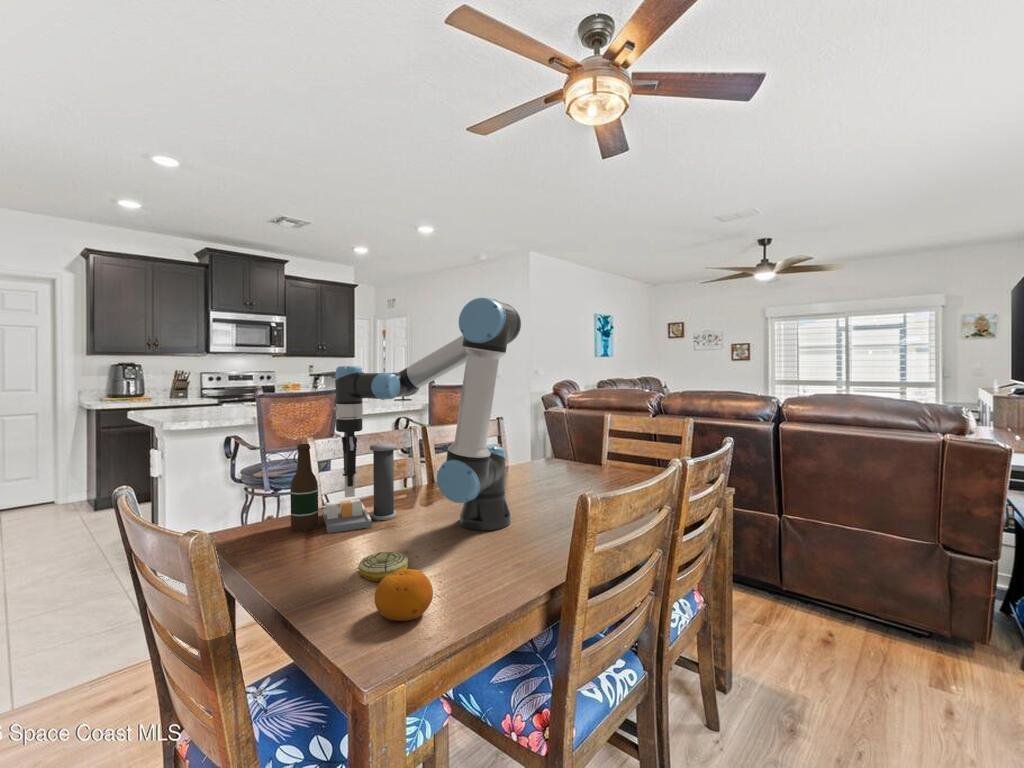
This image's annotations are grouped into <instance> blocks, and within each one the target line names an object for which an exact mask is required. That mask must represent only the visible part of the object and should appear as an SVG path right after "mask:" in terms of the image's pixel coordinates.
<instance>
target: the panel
mask: <svg viewBox="0 0 1024 768" xmlns="http://www.w3.org/2000/svg"><path fill="white" fill-rule="evenodd" d="M322 517H323V521H324V524H325V530H326V529H327V530H326V533H328V534H334V533H333V532H335V533H341V532H342V531H343V532H349V530H350V531H356V530H355V529H358V530H363V529H362V528H365V529H371V527H372V528H373V520H372V519H371V518H370V514H369V513H368V510H367V508H366V506H365V505H364V504H363V502H362V515H359V516H351V517H343V518H342V515H341V513H340V506H338V518H334V519H328V518H327V515H326V507H324V508H322Z"/></svg>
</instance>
